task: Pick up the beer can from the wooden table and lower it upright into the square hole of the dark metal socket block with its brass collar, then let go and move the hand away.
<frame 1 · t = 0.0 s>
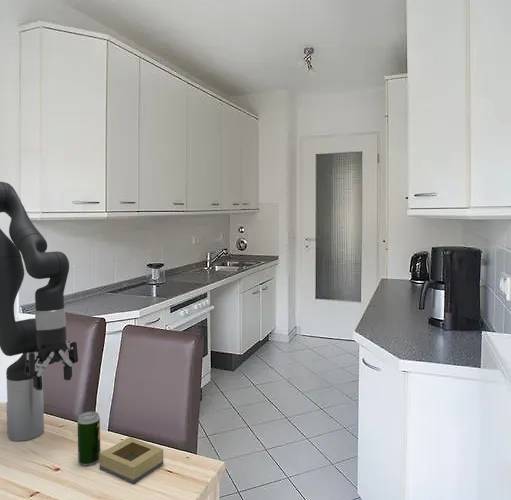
hand: (53, 384, 120), 17 cm above the table, tool pointing down, fingers open, 8 cm apart
beer can: (89, 461, 114), on the table
socket block: (131, 466, 111), on the table
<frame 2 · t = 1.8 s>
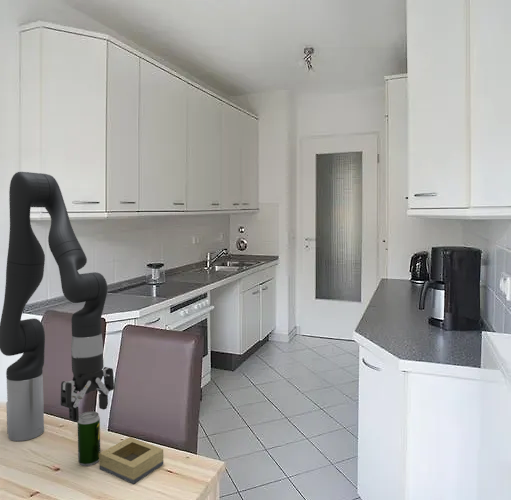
hand: (89, 414, 112), 12 cm above the table, tool pointing down, fingers open, 8 cm apart
nothing on the table moved.
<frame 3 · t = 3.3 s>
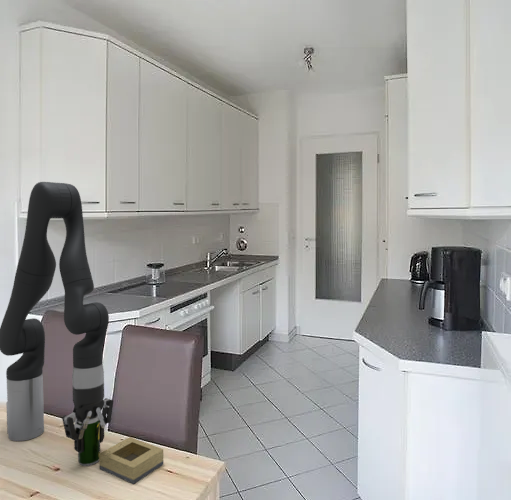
hand: (89, 446, 113), 4 cm above the table, tool pointing down, fingers closed on beer can, 5 cm apart
beer can: (89, 461, 114), on the table, touching gripper
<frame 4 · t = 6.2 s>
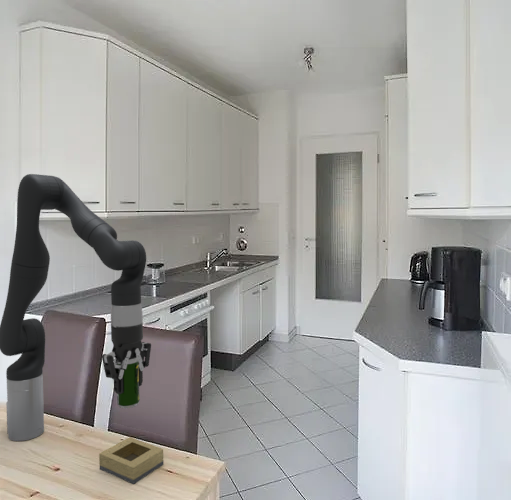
hand: (128, 389, 110), 20 cm above the table, tool pointing down, fingers closed on beer can, 5 cm apart
beer can: (128, 405, 110), point 16 cm above the table, touching gripper
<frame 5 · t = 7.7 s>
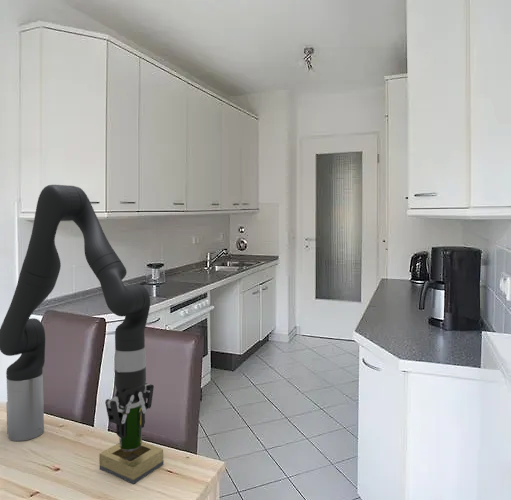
hand: (131, 431, 110), 9 cm above the table, tool pointing down, fingers closed on beer can, 5 cm apart
beer can: (130, 447, 111), point 5 cm above the table, touching gripper
when the fingers open (6 cm above the table, at t = 9.1 s): beer can drops 1 cm, resting on socket block.
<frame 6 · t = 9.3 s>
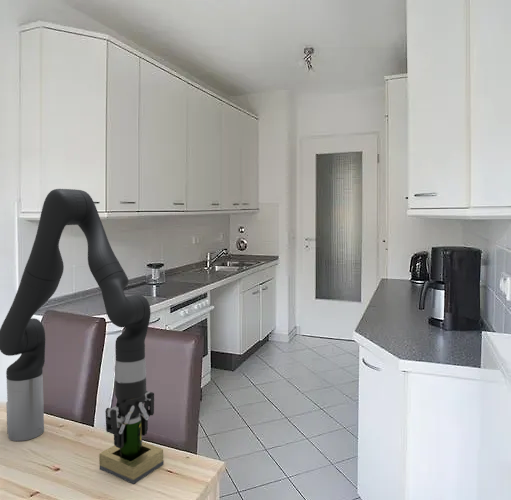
hand: (131, 440, 111), 7 cm above the table, tool pointing down, fingers open, 7 cm apart
beer can: (131, 462, 111), point 1 cm above the table, touching socket block
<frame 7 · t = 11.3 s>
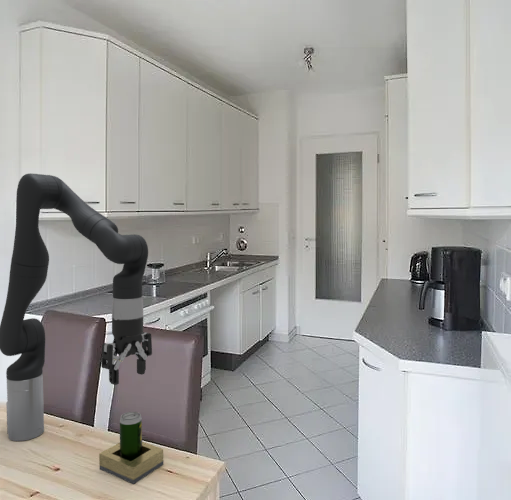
hand: (128, 378, 111), 22 cm above the table, tool pointing down, fingers open, 8 cm apart
nothing on the table moved.
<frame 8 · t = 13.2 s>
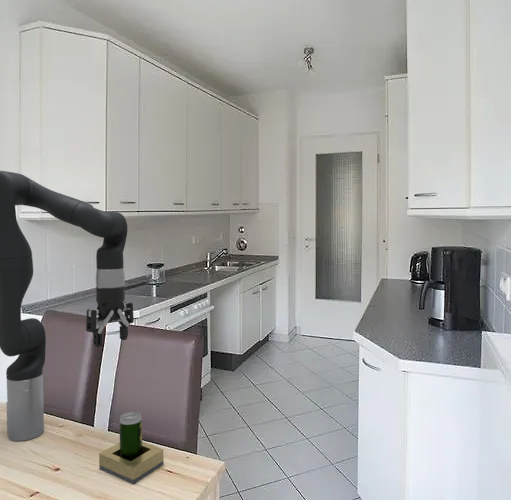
hand: (111, 343, 122), 28 cm above the table, tool pointing down, fingers open, 8 cm apart
nothing on the table moved.
at the end: beer can 0.4 cm off-centre on the socket block, point 0.8 cm above the socket block's base; beer can tilted 0°; the gripper is holding nothing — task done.
